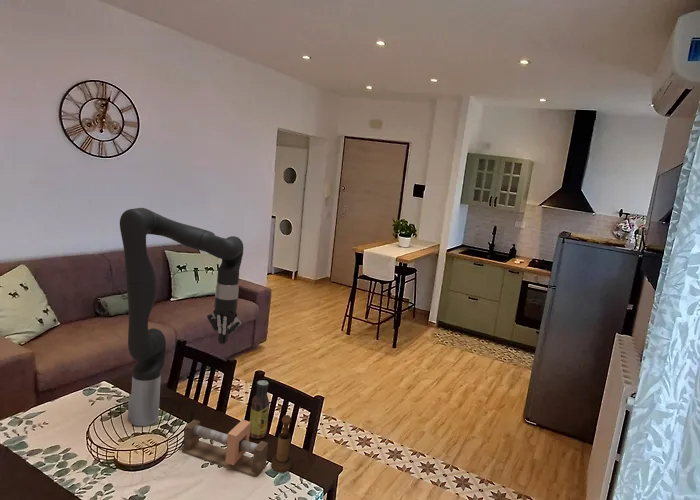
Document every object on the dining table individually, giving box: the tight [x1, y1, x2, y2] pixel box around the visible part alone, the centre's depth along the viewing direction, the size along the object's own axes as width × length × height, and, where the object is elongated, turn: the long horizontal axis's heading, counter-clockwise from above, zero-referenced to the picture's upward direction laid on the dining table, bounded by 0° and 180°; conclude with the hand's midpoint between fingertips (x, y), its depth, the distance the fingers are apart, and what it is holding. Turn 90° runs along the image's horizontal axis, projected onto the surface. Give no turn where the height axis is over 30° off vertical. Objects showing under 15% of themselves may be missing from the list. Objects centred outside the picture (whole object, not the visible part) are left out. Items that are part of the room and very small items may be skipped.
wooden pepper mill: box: [270, 414, 293, 474], centre depth 153 cm, size 7×6×18 cm
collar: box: [225, 419, 251, 465], centre depth 153 cm, size 3×9×10 cm, turn 163°
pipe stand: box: [181, 419, 269, 478], centre depth 154 cm, size 27×7×9 cm, turn 73°
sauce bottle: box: [249, 379, 270, 440], centre depth 169 cm, size 7×6×20 cm
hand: (222, 343), depth 166 cm, fingers closed
